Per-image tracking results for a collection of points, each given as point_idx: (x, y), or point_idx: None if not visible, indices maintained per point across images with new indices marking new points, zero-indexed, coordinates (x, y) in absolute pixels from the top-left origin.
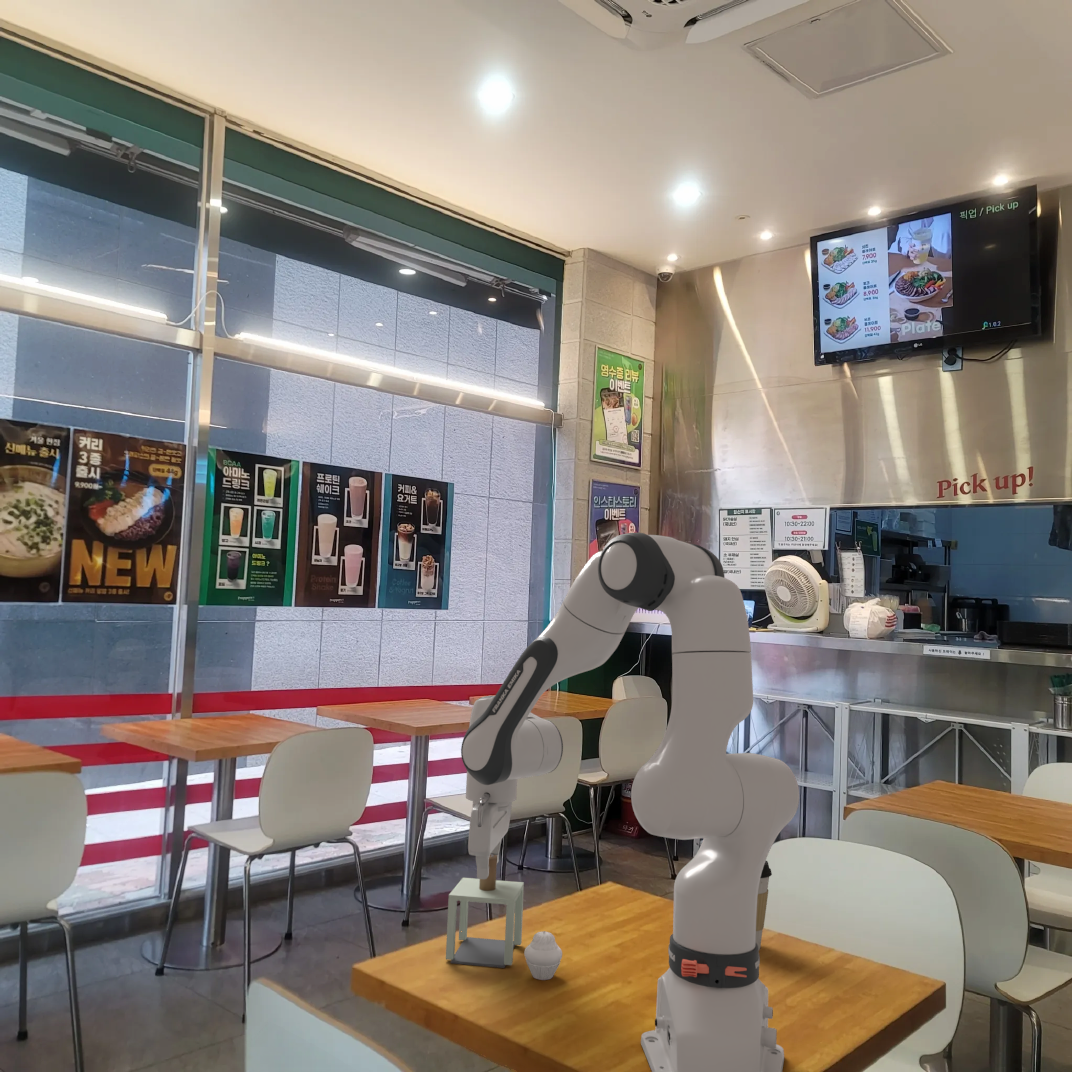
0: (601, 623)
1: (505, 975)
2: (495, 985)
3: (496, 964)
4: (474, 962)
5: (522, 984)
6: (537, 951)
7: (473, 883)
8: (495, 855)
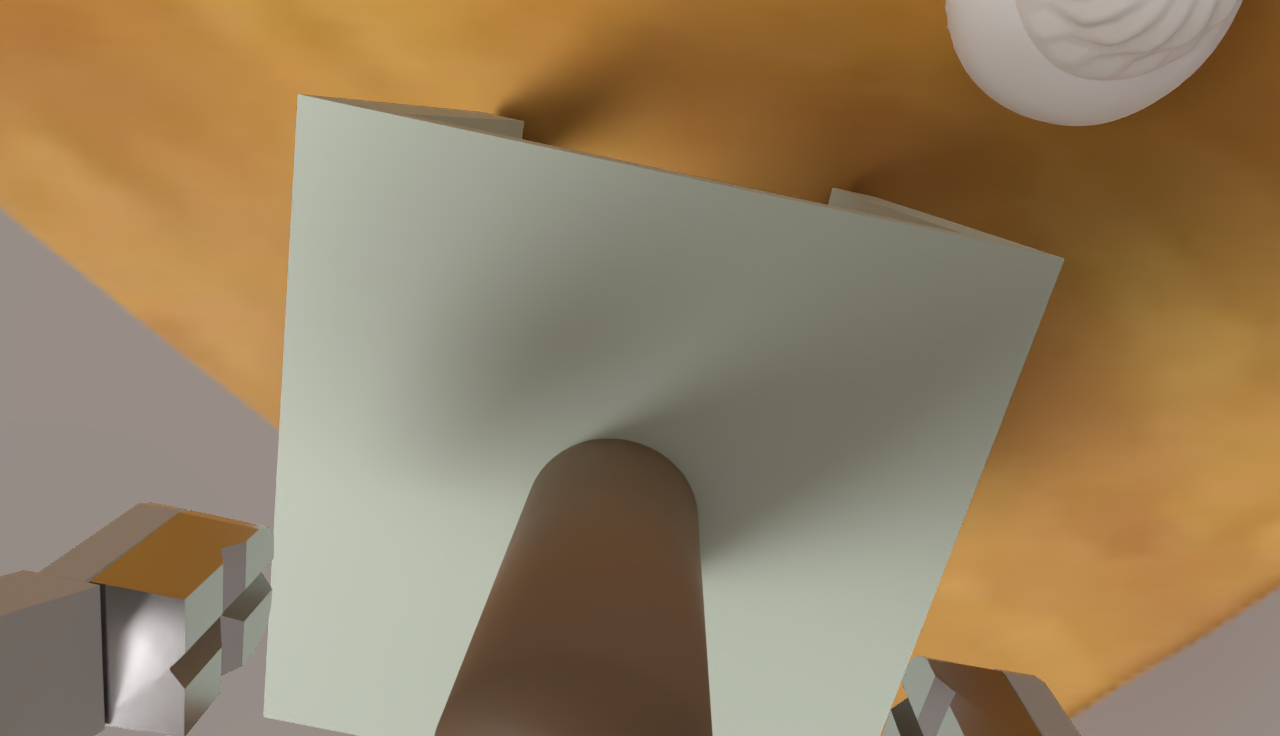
0: None
1: None
2: (1123, 293)
3: None
4: None
5: (1133, 139)
6: (1222, 25)
7: (448, 635)
8: (189, 624)
